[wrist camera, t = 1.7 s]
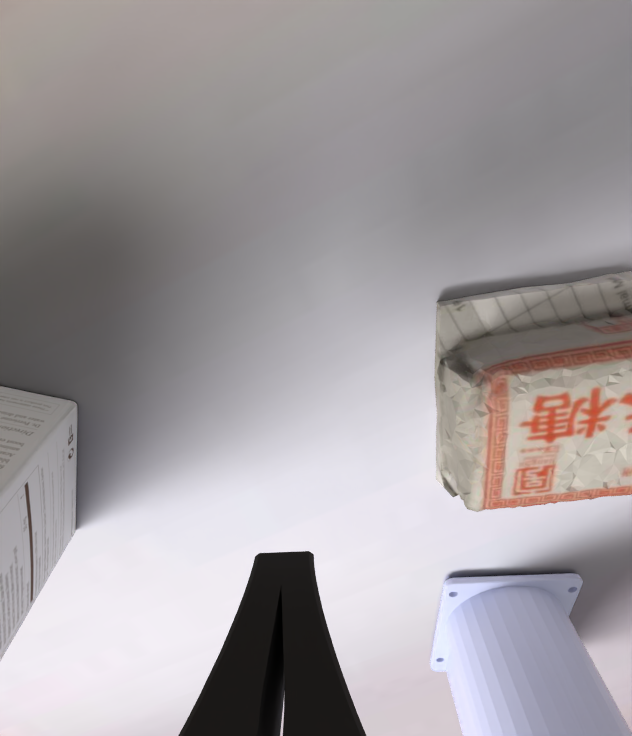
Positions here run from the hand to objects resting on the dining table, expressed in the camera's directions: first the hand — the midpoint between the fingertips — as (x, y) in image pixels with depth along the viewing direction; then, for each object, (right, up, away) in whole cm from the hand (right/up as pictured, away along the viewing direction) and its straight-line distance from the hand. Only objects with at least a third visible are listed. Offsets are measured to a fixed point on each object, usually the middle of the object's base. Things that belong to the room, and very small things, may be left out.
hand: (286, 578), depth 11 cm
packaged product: (+15, +5, +9) cm, 18 cm away
